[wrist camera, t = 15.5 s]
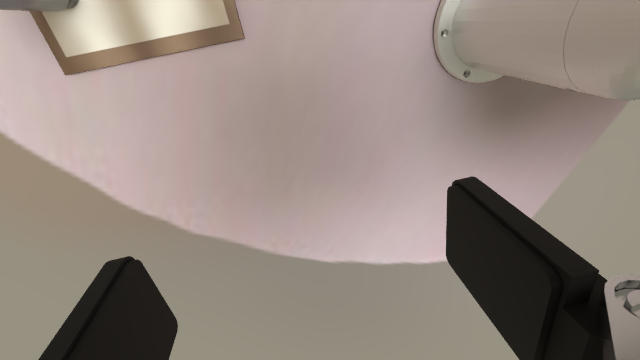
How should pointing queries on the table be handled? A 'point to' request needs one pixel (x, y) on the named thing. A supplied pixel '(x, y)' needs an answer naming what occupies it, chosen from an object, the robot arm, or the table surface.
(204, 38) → the clipboard
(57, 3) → the marker
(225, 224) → the table surface
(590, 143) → the table surface
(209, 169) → the table surface
